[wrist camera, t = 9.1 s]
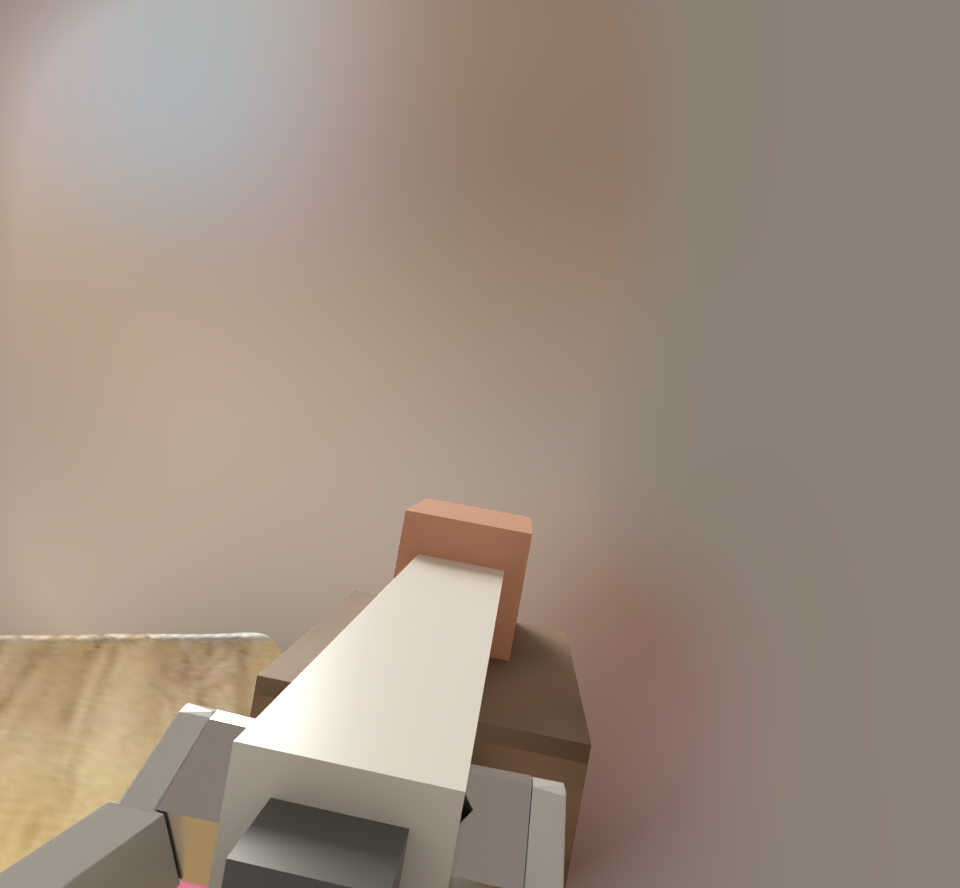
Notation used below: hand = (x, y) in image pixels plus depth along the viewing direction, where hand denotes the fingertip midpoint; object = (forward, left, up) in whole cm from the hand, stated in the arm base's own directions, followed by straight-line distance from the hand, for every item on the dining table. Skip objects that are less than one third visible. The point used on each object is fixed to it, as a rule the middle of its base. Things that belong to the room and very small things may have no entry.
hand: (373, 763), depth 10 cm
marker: (0, +7, -2) cm, 7 cm away
